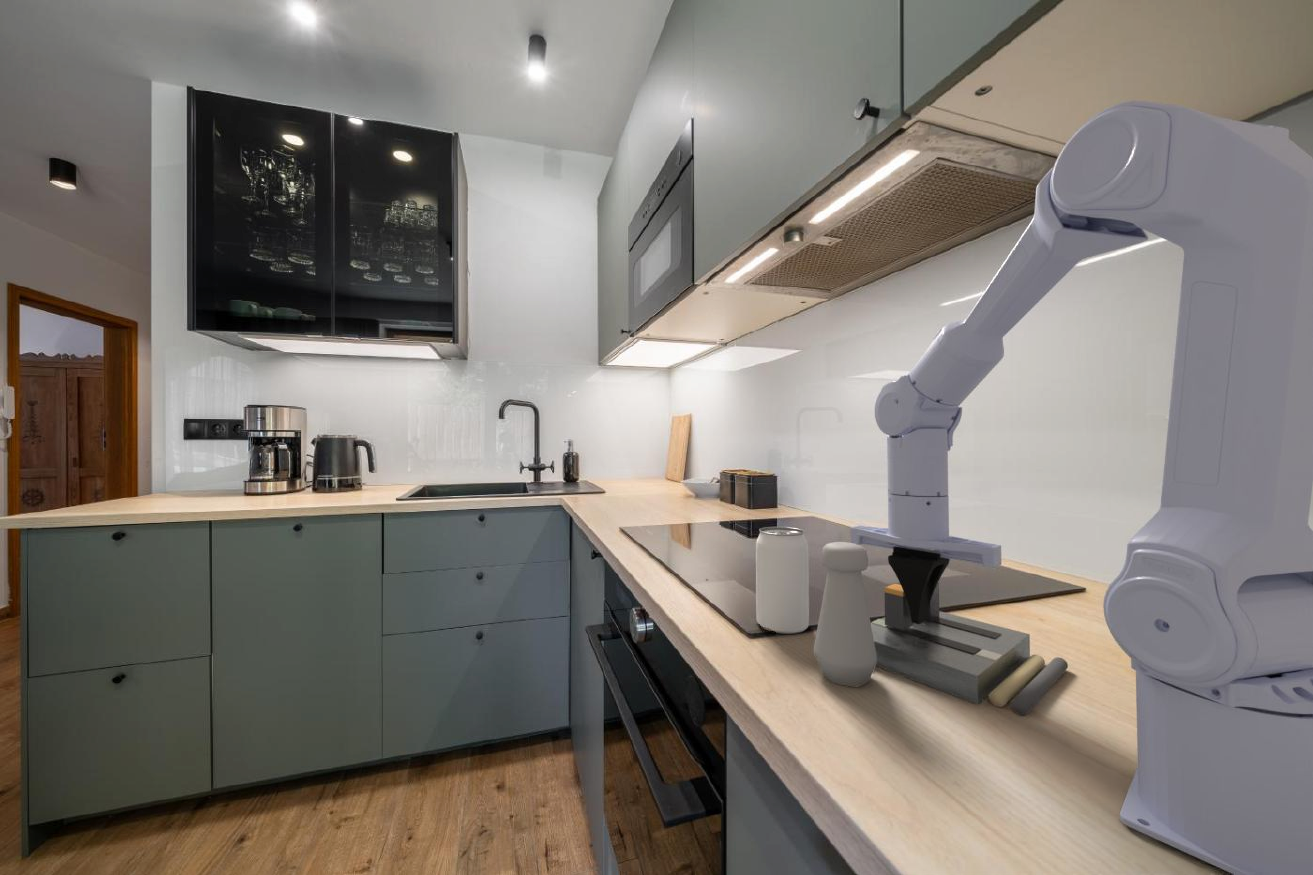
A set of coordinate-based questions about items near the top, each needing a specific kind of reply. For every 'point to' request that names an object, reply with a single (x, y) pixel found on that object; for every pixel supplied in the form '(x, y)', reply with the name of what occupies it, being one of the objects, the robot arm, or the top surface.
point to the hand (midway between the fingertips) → (919, 621)
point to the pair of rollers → (1033, 689)
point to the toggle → (897, 608)
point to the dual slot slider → (951, 652)
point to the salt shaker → (845, 618)
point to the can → (782, 580)
